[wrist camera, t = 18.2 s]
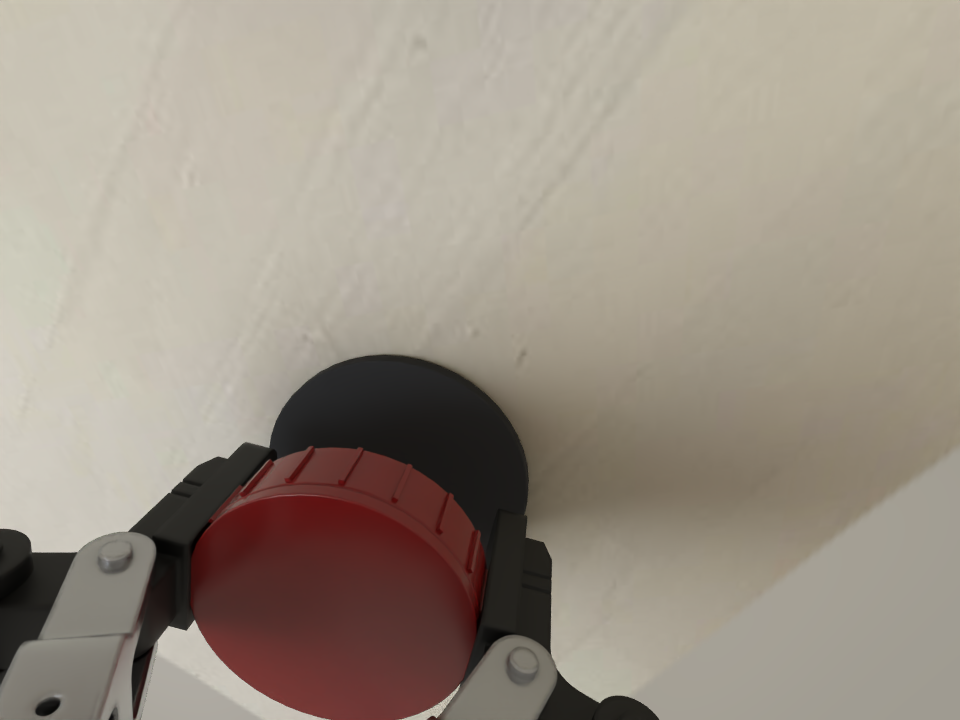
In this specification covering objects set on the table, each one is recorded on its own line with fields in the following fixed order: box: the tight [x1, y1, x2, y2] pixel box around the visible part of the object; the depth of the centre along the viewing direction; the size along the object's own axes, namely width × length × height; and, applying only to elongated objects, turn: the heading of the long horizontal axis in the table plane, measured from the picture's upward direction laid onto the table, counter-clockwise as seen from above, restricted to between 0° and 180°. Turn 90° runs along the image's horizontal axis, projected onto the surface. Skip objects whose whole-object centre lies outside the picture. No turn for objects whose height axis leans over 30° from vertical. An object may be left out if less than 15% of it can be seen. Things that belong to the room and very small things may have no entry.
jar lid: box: [190, 446, 488, 720], centre depth 12 cm, size 6×6×2 cm
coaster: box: [270, 355, 529, 555], centre depth 15 cm, size 7×7×1 cm
